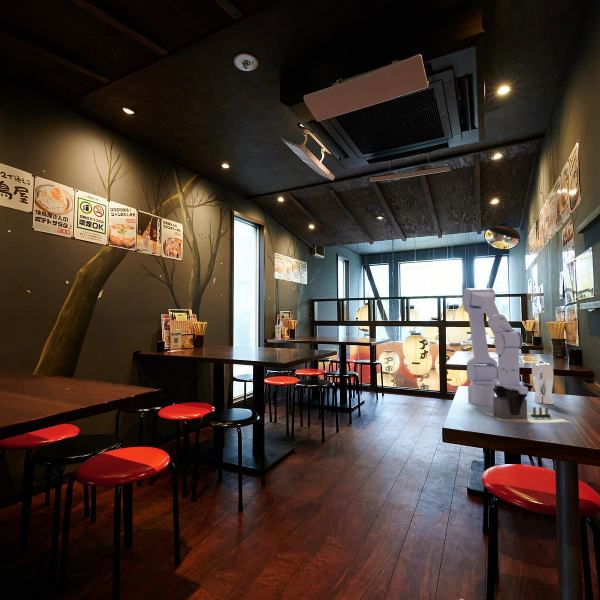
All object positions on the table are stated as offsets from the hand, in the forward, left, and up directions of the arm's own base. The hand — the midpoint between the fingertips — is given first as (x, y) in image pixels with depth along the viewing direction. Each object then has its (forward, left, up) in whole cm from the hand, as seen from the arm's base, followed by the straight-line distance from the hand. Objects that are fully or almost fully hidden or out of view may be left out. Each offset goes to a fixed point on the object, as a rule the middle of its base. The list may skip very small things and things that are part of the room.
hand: (510, 412), depth 112 cm
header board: (0, +5, -3) cm, 6 cm away
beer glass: (-25, +30, -3) cm, 39 cm away
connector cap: (0, 0, -1) cm, 1 cm away
